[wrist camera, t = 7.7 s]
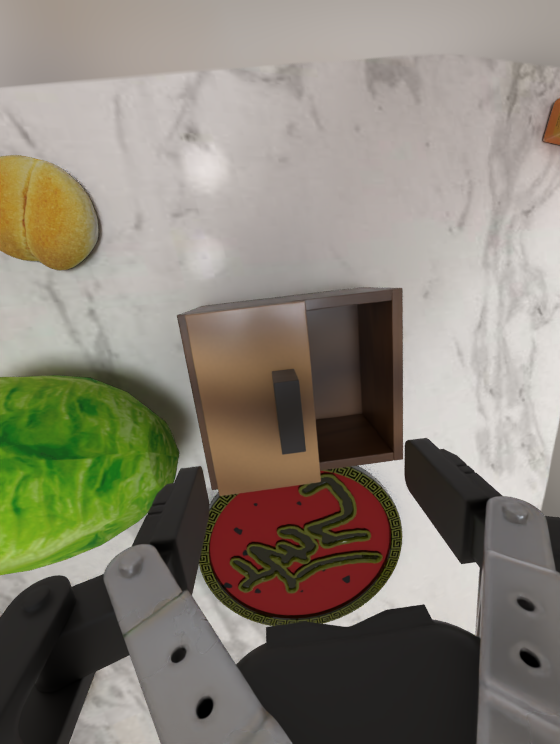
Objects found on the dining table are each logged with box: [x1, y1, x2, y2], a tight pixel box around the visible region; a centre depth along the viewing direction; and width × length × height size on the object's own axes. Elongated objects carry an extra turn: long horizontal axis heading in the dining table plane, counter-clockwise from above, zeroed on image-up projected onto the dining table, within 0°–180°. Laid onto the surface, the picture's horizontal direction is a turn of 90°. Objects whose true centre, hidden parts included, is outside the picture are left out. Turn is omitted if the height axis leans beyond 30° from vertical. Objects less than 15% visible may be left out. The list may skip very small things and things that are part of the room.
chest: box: [177, 287, 403, 490], centre depth 28 cm, size 14×16×10 cm
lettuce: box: [0, 375, 179, 575], centre depth 26 cm, size 15×23×16 cm
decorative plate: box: [199, 466, 402, 626], centre depth 38 cm, size 25×1×25 cm
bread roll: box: [0, 155, 98, 270], centre depth 26 cm, size 8×9×4 cm
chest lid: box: [185, 301, 321, 496], centre depth 21 cm, size 14×8×3 cm, turn 6°
